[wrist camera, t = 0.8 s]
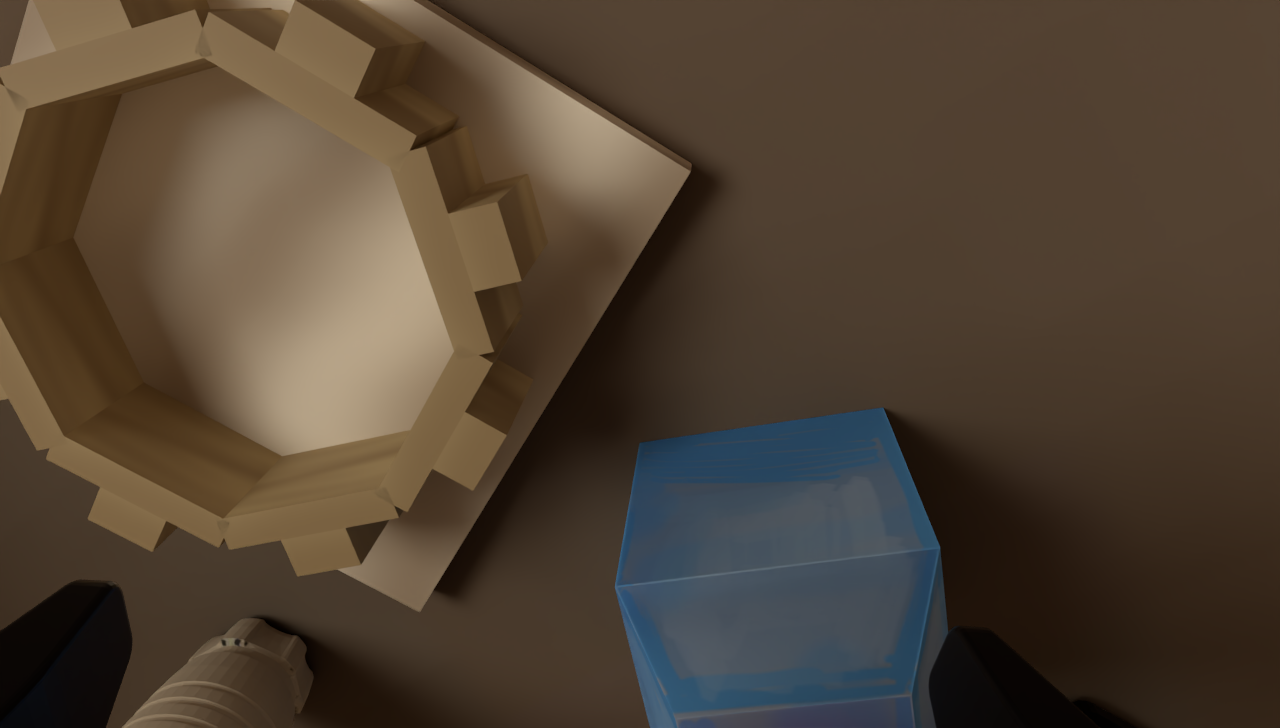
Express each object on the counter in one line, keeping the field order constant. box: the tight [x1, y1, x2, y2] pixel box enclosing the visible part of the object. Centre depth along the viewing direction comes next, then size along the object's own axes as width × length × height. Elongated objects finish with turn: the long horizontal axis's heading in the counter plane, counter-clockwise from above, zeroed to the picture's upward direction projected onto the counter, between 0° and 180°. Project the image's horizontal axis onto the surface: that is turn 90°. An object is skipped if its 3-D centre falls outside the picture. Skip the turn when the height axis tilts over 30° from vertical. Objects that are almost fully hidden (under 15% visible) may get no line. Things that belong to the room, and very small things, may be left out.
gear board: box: [0, 0, 692, 612], centre depth 20 cm, size 14×14×4 cm
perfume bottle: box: [615, 408, 948, 728], centre depth 18 cm, size 6×6×12 cm
